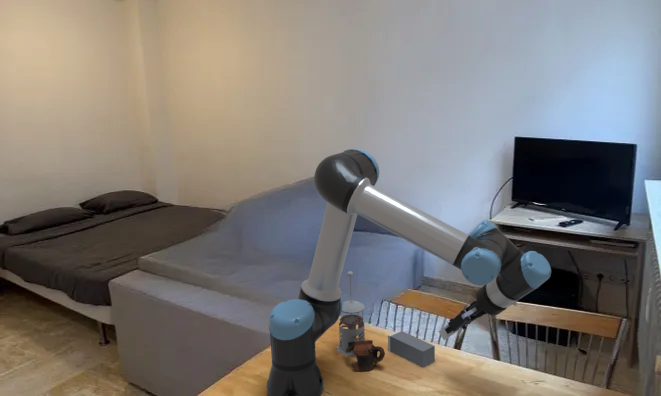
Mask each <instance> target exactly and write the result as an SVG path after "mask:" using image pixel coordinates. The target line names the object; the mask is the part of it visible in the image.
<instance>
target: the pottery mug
mask: <svg viewBox="0 0 661 396" xmlns="http://www.w3.org/2000/svg"><path fill="white" fill-rule="evenodd" d="M373 342H374V341H373V340H372V339H365V340H362V341H353V342H348V348H347V350H346V353H347V352H348V353H349V352H350V351H351V350H352V351H353V353H354V354H355V355H356V356H355V358H356V361H353V362H352V363H351V366H352V371H353V372H354V371H355V372H356V371H371V370H373V365H375V366H377V364H378V363H379V362H382V361H383V359H384V358H385V355H386V353H385V352H386V351H385V350H384V348H383V346H378V345H377V346H376V345H374V343H373ZM378 352H379V353H378ZM378 354H379V355H378Z"/></svg>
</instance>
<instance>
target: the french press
mask: <svg viewBox="0 0 661 396" xmlns="http://www.w3.org/2000/svg"><path fill="white" fill-rule="evenodd" d="M346 275H347V276H348V277H349V289H350V292H349V294H350V296H352V281H351V279H352V277H353V276H354V272H353V271H348V272H347V273H346ZM365 308H366V307H365V304H363V303H362V302H361V301H357V300H346V301H342V312H341V313H342V314H345V315H342V316H341V317H339V321H340V322H338V323H339V324H338V331H339V332H338V333H339V338H338V339H339V344H338V345H337V346H336V351H338V352H337V353H339V354H340V355H342V354H343V356H345V355H347V356H346V357H356V355H355V354H354V353H353V351H352V350H351V351H350V352H349V353H348V352H347V353H346V350H347V348H348V342H353V341H362V340H366V338H365V337H366V332H365V329H366V328H365V322H364V310H365ZM361 312H362V313H361ZM359 313H361V314H362V316H361V315H360V314H359ZM357 336H358V337H357Z"/></svg>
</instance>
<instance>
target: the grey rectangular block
mask: <svg viewBox="0 0 661 396" xmlns="http://www.w3.org/2000/svg"><path fill="white" fill-rule="evenodd" d="M435 348H436V347H435V345H434V344H431V343H429V342H428V341H425V340H423V339H421V338H419V337H417V336H416V337H415V336H414V335H411V334H410V333H407V332H405V331H402V330H400V329H398V330H395V331H394V332H391V333H389V334H388V335H387V351H389V352H391V353H394V354H395V355H397V356H399V357H401V358H402V359H405V360H407V361H408V362H411V363H413V364H415V365H417V366H419V367H420V368H426V367H427V366H429V365H430V364H433V363H435V362H436V361H435V358H436V357H435V356H436V355H435V352H436V349H435Z"/></svg>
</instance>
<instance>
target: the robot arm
mask: <svg viewBox="0 0 661 396" xmlns="http://www.w3.org/2000/svg"><path fill="white" fill-rule="evenodd" d="M379 177H380V168H379V165H378V162H377V160H376V159H375V157H374V156H373V155H372V153H370V152H368V151H367V150H365V149H361V148H360V149H359V148H352V149H351V148H348V149H346V150H344V151H342V152H338V153H335V154H332V155H331V154H330V155H329V156H326V157H325V158H324V159H322V160H321V161H320V163H318V165H317V167H316V168H315V171H314V177H313V178H314V186H315V189H316V191H317V193H318V194H319V195H320V196H321V198H322V199H323V200H324V201H326V206H325V210H324V214H323V219H322V224H321V226H320V231H319V236H318V240H317V243H316V248H315V251H314V255H313V259H312V263H311V267H310V272H309V275H308V278H307V279H305V280H304V281H302V283H301V286H300V290H299V294H298V298H296V299H295V298H293V299H289V300H286V301H282V302H280V303H278V304H277V305H275V306H274V307H273V308H272V309H271V311H270V313H269V321H268V329H269V339H270V352H271V367H270V369H269V376H268V378H267V382H266V392H267V396H321V395H322V394H323V393H324V389H325V387H324V378H323V375H322V373H321V371H320V368H319V365H318V362H317V359H316V353H317V352H316V342H317V341H318V340H319V339H320V338H321V337H322V336H323V335H324V334H325V333H326V332H327V331H328V330H329V329H330V328H331V327H333V326H334V325H335V324H336V323H337V321H338V320H339V319H340V318H341V317H340V316H341V314H342V313H343V312H342V303H343V299H342V290H341V288H340V287H339V286H340V285H339V284H340V281H341V278H342V273H343V270H344V267H345V266H344V265H345V263H346V259H347V255H348V251H349V248H350V243H351V241H352V238H353V237H352V236H353V234H354V229H355V226H356V221H357V217H358V216H360V217H362V218H364V219H366V220H368V221H370V222H372V223H373V224H375V225H377V226H379V227H381V228H382V229H385V230H387V232H390V233H392V234H394V235H395V236H397V237H400V238H401V239H403V240H405V241H407V242H408V243H411V244H412V245H415V246H416V247H418V248H419V249H422V250H423V251H425V252H427V253H429V254H431V255H433V256H435V257H436V258H439V259H440V260H442V261H444V262H445V263H448V264H450V265H451V266H453V267H456V268H457V269H459V270H460V271H461V273H462V276H463V277H464V278H465V279H466V281H467V282H469V283H470V284H472V285H475V286H482V287H479V289H478V290H477V292H476V294H475V299H476V300H474V301H472V302H471V303H470V304H469V305H468V306H467V307H466V308H465V309H463V310H461V311H460V312H459V313H458V314H457V315H456V316H455V317H454V318H450V319H449V321H448V322H447V324H446V325H445V326H444V327H442V328H441V329H440V330H439V331H438V333H439V334H440V336H441V338H442V340H444V341H446V340H447V339H449V338H451V336H453V335H454V334H455V333H457V332H459V331H460V330H461V329H462V330H463V331H465V330H466V329H467V325H470V324H471V323H472V322H475V320H477V319H479V318H481V317H483V316H484V315H490V316H498V315H500V314H501V313H503V312H504V311H506V310H508V308H509V307H511V306H514V307H516V306H517V305H518V301H520V300H521V299H522V298H523V297H525V296H527V295H528V294H530V293H531V292H533V291H535V290H536V289H539V288H540V287H541V285H543V284H544V283H545V282H547V281H548V280H549V279H550V278H551V274H552V268H551V264H550V263H549V261H548V259H547V258H546V257H545V256H544V255H543V254H541V253H538V252H537V251H534V250H529V251H527V252H524V251H522V250H521V249H520V248H518V247H517V246H516V245H515V243H513V242H512V241H511V240H510V239H509V238H508V237H507V236H506V235H505V234H504V233H503V232H502V231H501V230H500V229H499V228H498V227H497V226H495V225H494V224H493V223H492V222H490V220H488V219H484V220H482V221H480V222H479V223H478V224H477V225H476V226H475V227H474V228H473V229H472V230H471V231H470V232H469V233H466V232H464V231H462V230H460V229H458V228H456V227H454V226H453V225H451V224H448V223H447V222H445V221H442V220H441V219H439V218H436V217H435V216H433V215H432V214H429V213H427V212H425V211H423V210H421V209H419V208H417V207H415V206H413V205H411V204H410V203H408V202H405V201H403V200H402V199H400V198H398V197H397V196H394V195H393V194H391V193H389V192H386V191H384V190H382V189H380V188H379V187H377V186H375V185H376V184H377V182H378V180H379Z"/></svg>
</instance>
